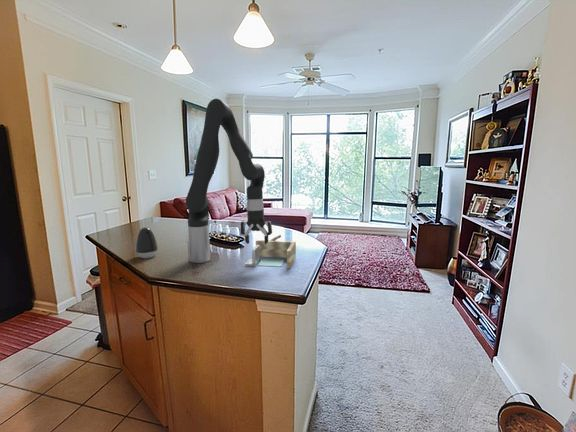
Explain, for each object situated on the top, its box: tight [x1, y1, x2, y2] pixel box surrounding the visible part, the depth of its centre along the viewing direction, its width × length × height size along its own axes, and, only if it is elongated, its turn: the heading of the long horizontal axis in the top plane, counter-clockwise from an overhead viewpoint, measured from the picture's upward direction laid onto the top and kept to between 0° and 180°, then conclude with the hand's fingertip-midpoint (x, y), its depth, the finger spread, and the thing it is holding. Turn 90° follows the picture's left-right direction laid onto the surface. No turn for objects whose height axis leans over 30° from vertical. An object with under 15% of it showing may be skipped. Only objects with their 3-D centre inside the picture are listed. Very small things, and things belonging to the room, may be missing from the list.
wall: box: [268, 234, 282, 241], centre depth 157 cm, size 16×9×15 cm
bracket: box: [244, 244, 261, 268], centre depth 134 cm, size 8×5×8 cm, turn 170°
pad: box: [256, 258, 285, 268], centre depth 136 cm, size 11×9×1 cm
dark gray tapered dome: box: [134, 226, 159, 259], centre depth 145 cm, size 10×10×15 cm
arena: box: [255, 239, 297, 269], centre depth 137 cm, size 20×17×8 cm
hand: (256, 243), depth 134 cm, fingers open, 8 cm apart
